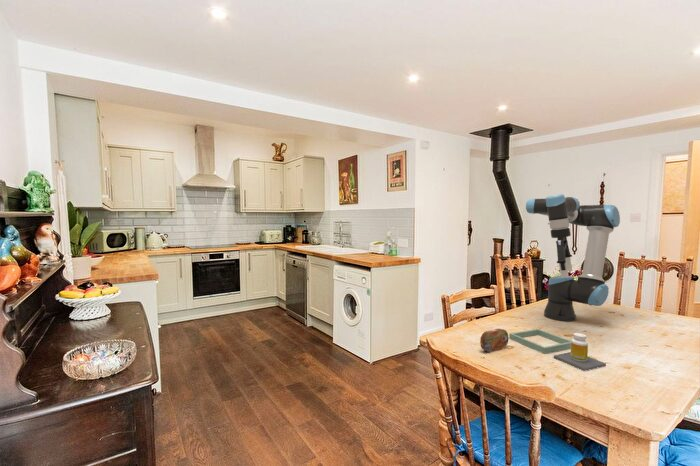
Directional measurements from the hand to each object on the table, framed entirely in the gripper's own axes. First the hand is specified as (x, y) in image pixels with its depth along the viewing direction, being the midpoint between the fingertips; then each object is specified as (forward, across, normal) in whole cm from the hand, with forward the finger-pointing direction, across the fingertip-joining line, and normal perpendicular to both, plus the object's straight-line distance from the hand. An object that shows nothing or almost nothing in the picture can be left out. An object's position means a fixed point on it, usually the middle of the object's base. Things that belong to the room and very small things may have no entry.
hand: (566, 274), depth 151 cm
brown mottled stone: (+24, +36, -26) cm, 50 cm away
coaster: (+29, +27, +3) cm, 40 cm away
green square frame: (+28, +15, -12) cm, 34 cm away
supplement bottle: (+28, +27, +3) cm, 39 cm away
